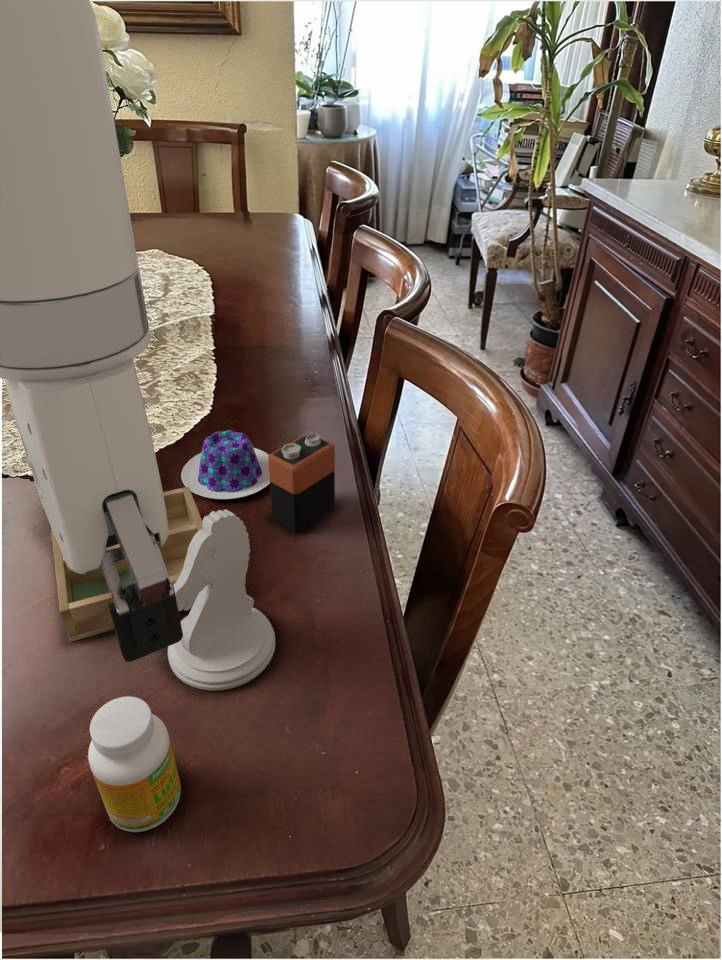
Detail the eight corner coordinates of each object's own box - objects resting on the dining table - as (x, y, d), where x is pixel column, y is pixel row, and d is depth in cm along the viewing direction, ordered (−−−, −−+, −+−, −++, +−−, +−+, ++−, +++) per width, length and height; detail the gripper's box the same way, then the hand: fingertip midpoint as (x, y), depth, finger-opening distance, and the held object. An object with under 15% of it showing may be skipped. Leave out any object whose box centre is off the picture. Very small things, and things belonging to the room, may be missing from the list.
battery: (270, 519, 77) (265, 447, 72) (310, 493, 82) (308, 423, 76) (297, 535, 75) (294, 462, 69) (336, 508, 80) (336, 437, 74)
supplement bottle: (171, 835, 48) (149, 758, 42) (97, 833, 48) (65, 756, 42) (188, 766, 52) (171, 688, 46) (120, 764, 52) (94, 686, 46)
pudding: (171, 463, 87) (165, 428, 84) (258, 442, 91) (255, 409, 88) (197, 514, 78) (191, 478, 75) (291, 488, 83) (290, 453, 80)
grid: (70, 642, 62) (59, 611, 60) (58, 546, 73) (49, 517, 70) (225, 597, 67) (221, 568, 65) (193, 514, 78) (188, 486, 76)
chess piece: (146, 651, 61) (115, 526, 52) (227, 593, 67) (211, 473, 59) (216, 710, 56) (195, 583, 48) (297, 642, 62) (291, 518, 54)
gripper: (-60, 271, 33) (30, 532, 43) (-5, 421, 21) (101, 733, 31) (93, 250, 37) (144, 497, 47) (213, 371, 25) (247, 667, 35)
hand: (126, 592), depth 39 cm, fingers open, 9 cm apart
